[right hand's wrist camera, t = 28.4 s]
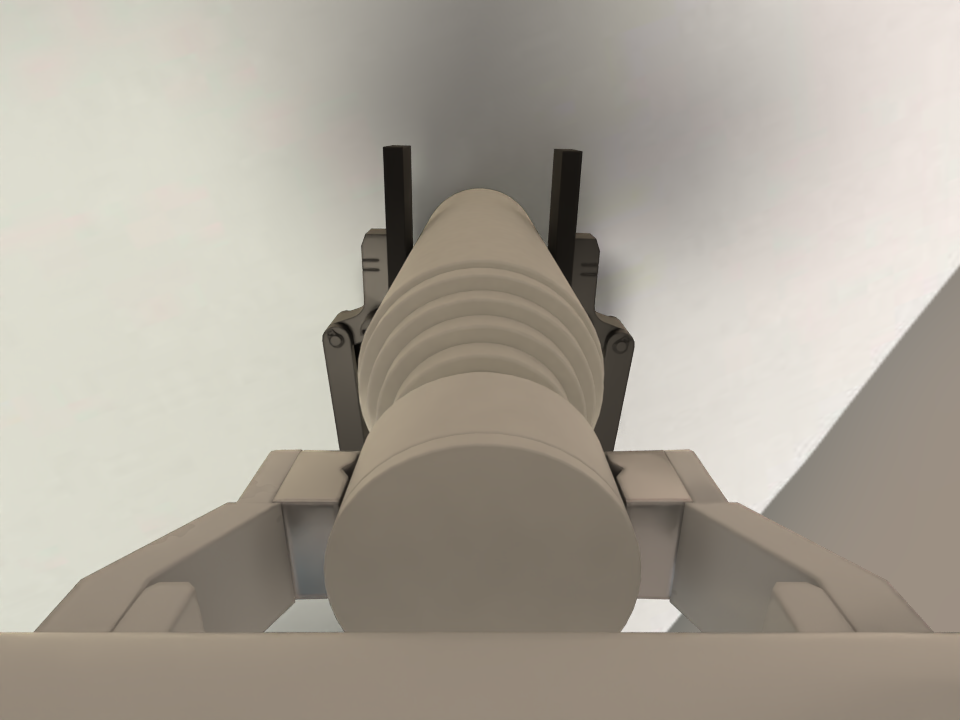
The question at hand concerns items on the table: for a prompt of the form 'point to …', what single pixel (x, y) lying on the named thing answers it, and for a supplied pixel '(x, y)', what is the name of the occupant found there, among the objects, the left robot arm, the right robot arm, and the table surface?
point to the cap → (482, 517)
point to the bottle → (480, 311)
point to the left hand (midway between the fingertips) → (482, 149)
